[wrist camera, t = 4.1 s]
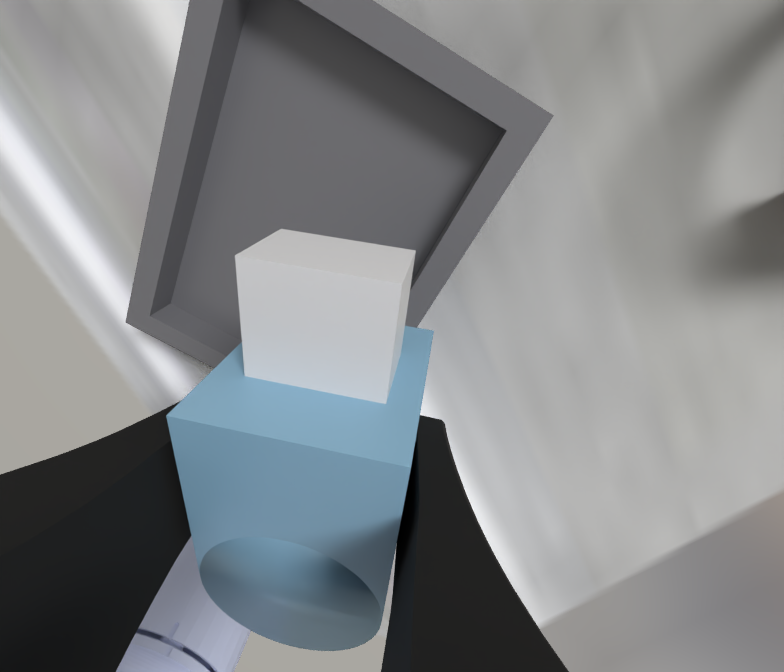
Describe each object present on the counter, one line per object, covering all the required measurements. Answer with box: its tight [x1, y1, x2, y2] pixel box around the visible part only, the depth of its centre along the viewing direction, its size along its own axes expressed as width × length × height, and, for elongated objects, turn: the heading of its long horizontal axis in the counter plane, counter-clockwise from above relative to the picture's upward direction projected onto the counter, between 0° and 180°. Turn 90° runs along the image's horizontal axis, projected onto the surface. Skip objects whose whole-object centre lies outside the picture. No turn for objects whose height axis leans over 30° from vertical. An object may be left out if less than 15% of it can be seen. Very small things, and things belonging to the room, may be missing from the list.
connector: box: [166, 229, 434, 651], centre depth 10 cm, size 10×4×5 cm, turn 173°
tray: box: [126, 0, 554, 368], centre depth 16 cm, size 16×12×2 cm
